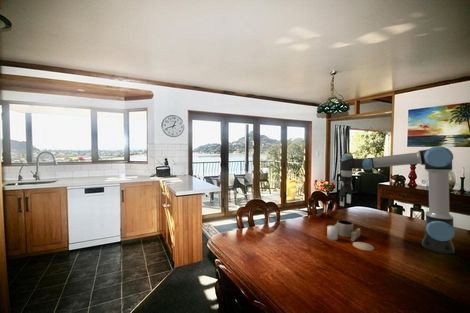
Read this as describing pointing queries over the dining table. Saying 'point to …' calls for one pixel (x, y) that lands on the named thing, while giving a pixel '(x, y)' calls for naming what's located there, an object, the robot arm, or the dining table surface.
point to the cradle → (353, 233)
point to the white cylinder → (332, 233)
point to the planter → (345, 228)
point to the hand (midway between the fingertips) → (345, 204)
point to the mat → (363, 246)
